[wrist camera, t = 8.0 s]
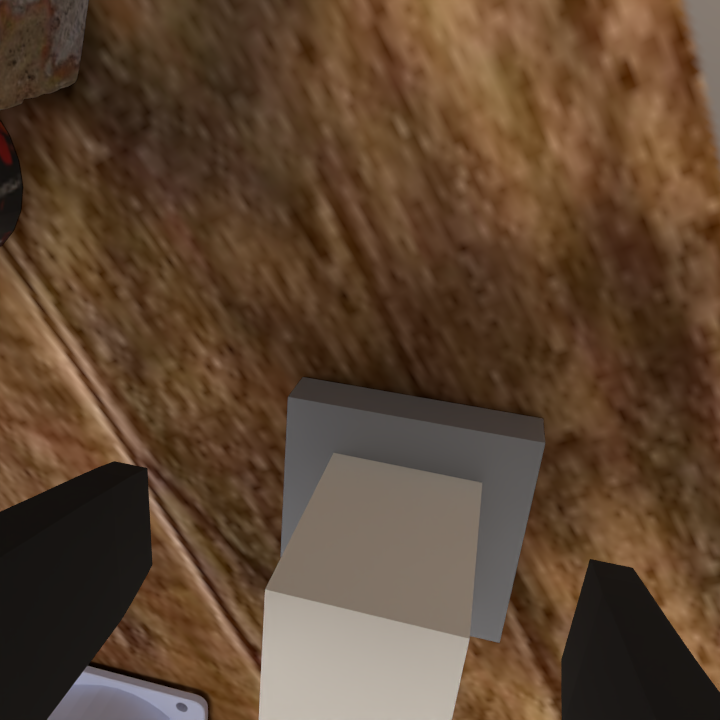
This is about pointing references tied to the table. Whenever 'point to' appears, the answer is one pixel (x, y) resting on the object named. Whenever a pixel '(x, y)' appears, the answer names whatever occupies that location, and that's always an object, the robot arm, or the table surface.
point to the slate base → (423, 467)
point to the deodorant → (9, 186)
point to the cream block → (372, 597)
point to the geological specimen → (39, 47)
